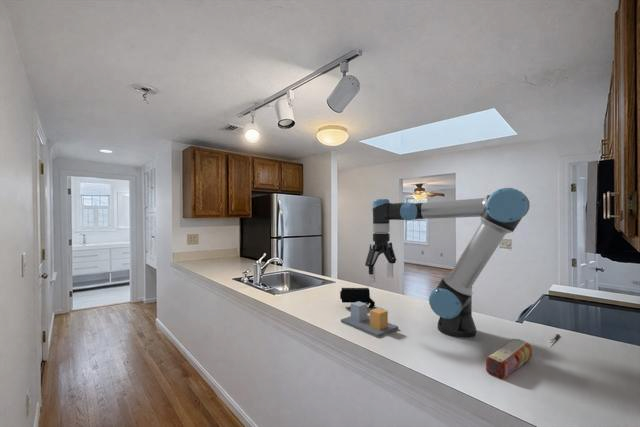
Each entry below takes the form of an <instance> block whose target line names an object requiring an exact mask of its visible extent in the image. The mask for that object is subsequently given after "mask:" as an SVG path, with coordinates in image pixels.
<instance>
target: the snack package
mask: <svg viewBox="0 0 640 427" xmlns="http://www.w3.org/2000/svg"><path fill="white" fill-rule="evenodd" d="M532 355H533V348H532V346H531V344H530V343H528V342H527V341H526V340H523V339H519V338H512V339H511V340H510V341H507V343H505V344H504V345H503V346H501V347H499V348H498V349H497V350H495V351H494V352H493V353H492V354H489V355H487V357H486V358H485V369H486V373H488V375H490V376H493V377H495V378H498V379H500V380H504V379H506V378H507V377H508V376H509V375H510V374H512V373H513V372H514V371H516V370H517V369H518V368H520V367H521V366H522V365H524V364H525V362H527V361H530V360H531V358H532Z"/></svg>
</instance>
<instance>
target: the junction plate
mask: <svg viewBox="0 0 640 427" xmlns="http://www.w3.org/2000/svg"><path fill="white" fill-rule="evenodd" d="M340 323H342V324H344V325H347V326H349V327H352V328H354V329H355V330H359V331H361V332H363V333H366V334H368V335H369V336H373V337H375V338H376V339H377V338H380V337H382V336H385V335H388V334H390V333H392V332H395V331H397V330H399V326H398V325H396V324H393V323H390V322H388V327H387V328H384V329H382V330H378V329H375V328H373V327H370V315H368V305H367V304H366V303H363V302H360V301H358V302H354V303H350V315H349V316H347V317H344V318H341V319H340Z"/></svg>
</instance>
